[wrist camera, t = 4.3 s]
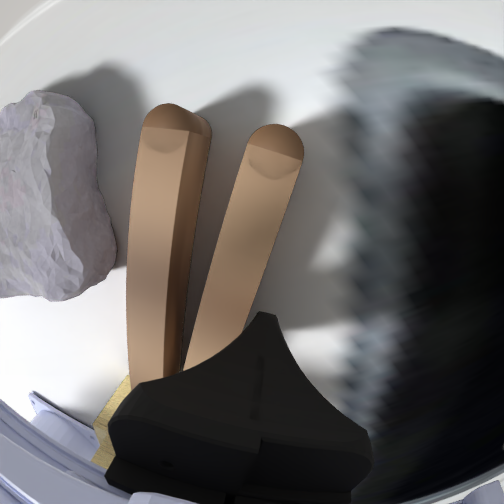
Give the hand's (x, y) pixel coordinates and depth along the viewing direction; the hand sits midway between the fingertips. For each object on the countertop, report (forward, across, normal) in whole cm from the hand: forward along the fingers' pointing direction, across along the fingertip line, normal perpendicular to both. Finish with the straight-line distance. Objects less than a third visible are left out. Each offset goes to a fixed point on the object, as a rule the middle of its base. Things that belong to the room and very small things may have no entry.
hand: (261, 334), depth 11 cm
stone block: (+2, +14, -3) cm, 14 cm away
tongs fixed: (+1, +3, +2) cm, 4 cm away
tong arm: (+1, +1, -1) cm, 2 cm away
